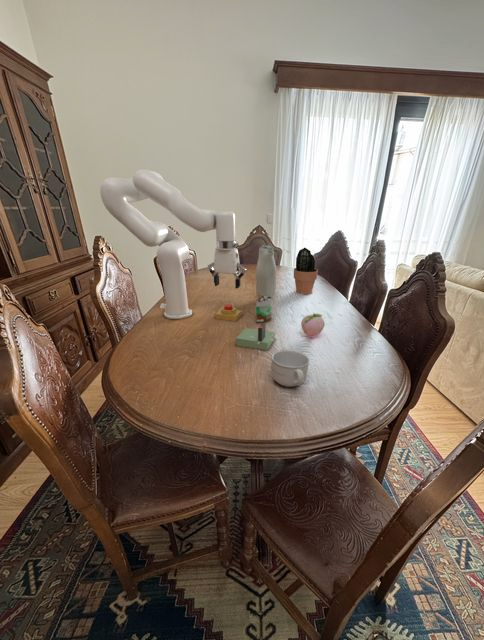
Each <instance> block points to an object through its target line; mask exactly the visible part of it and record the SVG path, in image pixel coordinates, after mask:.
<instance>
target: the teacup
mask: <svg viewBox="0 0 484 640" xmlns="http://www.w3.org/2000/svg"><path fill="white" fill-rule="evenodd" d="M309 364H310V358H309V357H308V356H307V355H306V354H305V353H302V352H301V351H298V350H297V351H296V350H291V349H283V350H277V351H275V352H273V354H271V364H270V365H271V366H270V374H271V377H272V378H273V380H274V381H275V382H277V384H279V385H281V386H283V387H288V388H291V387H296V386H299V385H302V384H303V383H304V381H306V378H307V375H308V370H309Z"/></svg>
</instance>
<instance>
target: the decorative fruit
mask: <svg viewBox="0 0 484 640" xmlns="http://www.w3.org/2000/svg"><path fill="white" fill-rule="evenodd" d="M300 325H301V330H302V331H303V333H304V334H305V335H307V336H309V337H315V336H317V335H319V334H320V333H322V331H323V329H324V328H325V325H326V322H325V320H324V318H323V314H321V313H313V314H311V313H310V314H307V315H305V316H304V317H303V318H302V320H301V323H300Z"/></svg>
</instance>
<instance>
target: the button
mask: <svg viewBox="0 0 484 640" xmlns="http://www.w3.org/2000/svg"><path fill="white" fill-rule="evenodd" d="M232 306H233V304H228V303H227V304H224V305H223V307H224V309H225V310H232Z"/></svg>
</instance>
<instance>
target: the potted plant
mask: <svg viewBox="0 0 484 640" xmlns="http://www.w3.org/2000/svg"><path fill="white" fill-rule="evenodd" d="M315 267H316V260H315V256H314V255H313V254H312V251H311V250H310V249H308V248H306V247H303V248H301V249H300V250H298V252H297V255H296V258H295V267H294V268H293V279H294V284H295V292H296V293H297V294H299V295H310V294H312V292H313V289H314V286H315V282H316V280H317V279H318V273H319V270H318V269H317V268H315Z"/></svg>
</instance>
